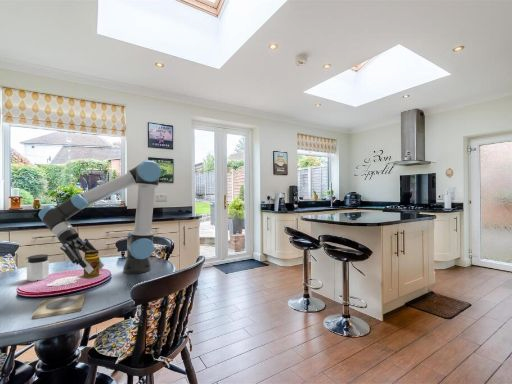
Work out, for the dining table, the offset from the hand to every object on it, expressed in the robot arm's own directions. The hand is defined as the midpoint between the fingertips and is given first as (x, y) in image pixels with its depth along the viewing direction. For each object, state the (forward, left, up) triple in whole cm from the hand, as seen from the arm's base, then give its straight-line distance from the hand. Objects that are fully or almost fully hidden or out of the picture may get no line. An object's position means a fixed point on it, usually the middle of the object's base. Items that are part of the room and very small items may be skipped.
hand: (96, 269), depth 120 cm
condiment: (+3, -2, -4) cm, 5 cm away
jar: (+29, -35, -11) cm, 47 cm away
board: (+12, +11, -11) cm, 19 cm away
